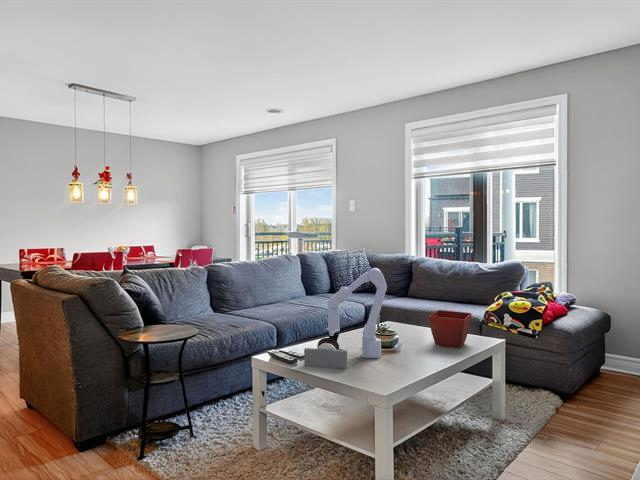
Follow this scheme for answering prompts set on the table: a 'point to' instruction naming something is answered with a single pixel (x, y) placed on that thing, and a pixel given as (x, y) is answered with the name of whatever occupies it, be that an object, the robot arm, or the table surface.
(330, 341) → the dark brown rounded piece
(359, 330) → the table surface
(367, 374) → the table surface
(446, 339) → the plant pot
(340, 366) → the duct panel
